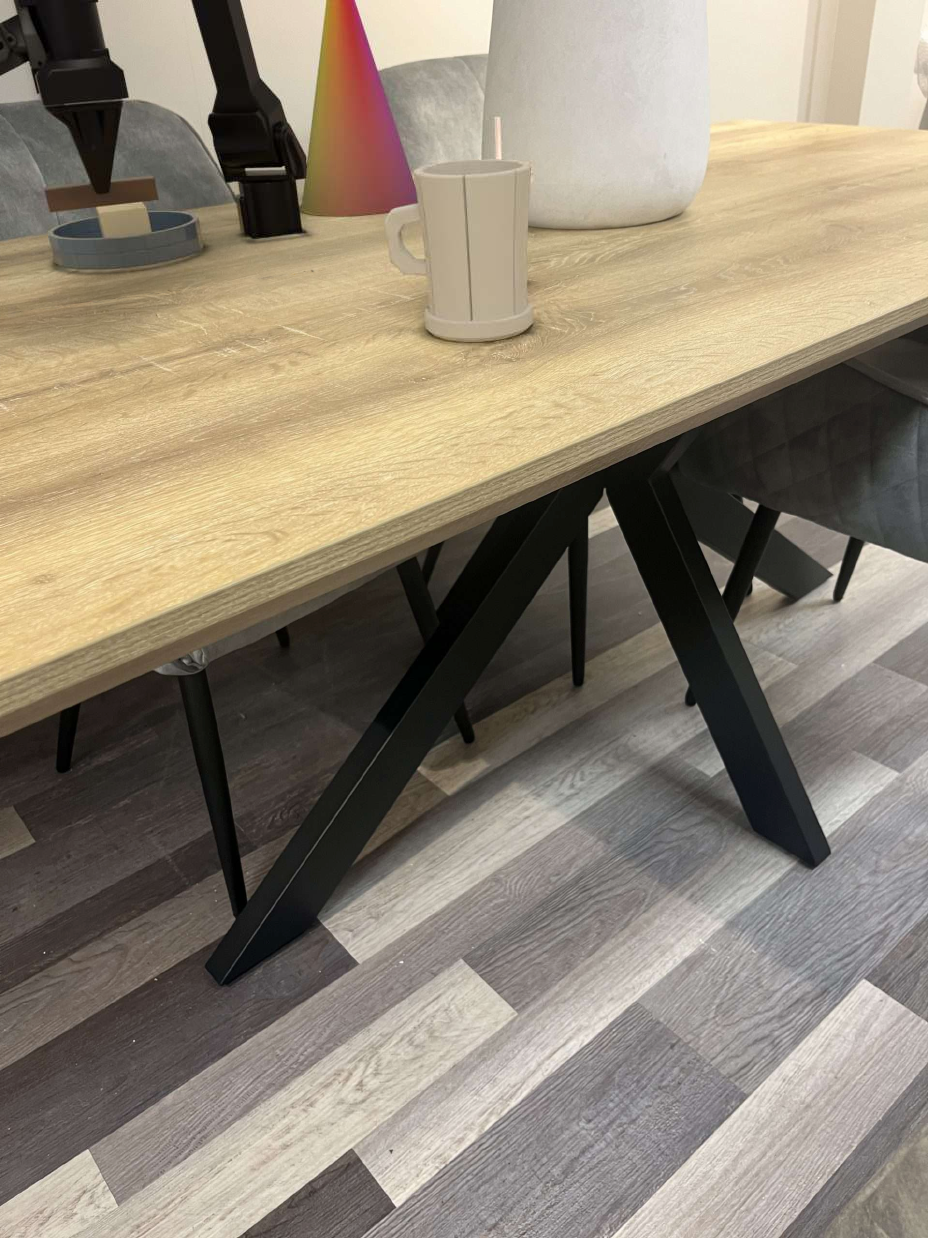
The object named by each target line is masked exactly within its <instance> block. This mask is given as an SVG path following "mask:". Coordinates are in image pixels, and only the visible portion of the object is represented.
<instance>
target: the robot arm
mask: <svg viewBox="0 0 928 1238" xmlns="http://www.w3.org/2000/svg"><path fill="white" fill-rule="evenodd" d="M190 1H191V5H192V8H193V13H194V15H195V19H196V23H197V26H198V30H199V32H200V36H201V39H202V43H203V47H204V50H205V54H206V57H207V61H208V65H209V67H210V71H211V74H212V78H213V83H214V86H215V89H216V93H215V98H214V100H213V101H214V102H213V106H212V110H211V112H210V113H209V114H208V116H207V126H208V128H209V131H210V133H211V136H212V144H213V149H214V152H215V154H216V158H217V161H218V165H219V167H220V170H221V173H222V177H223V180H224V182H225V184H231V183H237V184H238V191H239V193H237V194H236V195H235V197H234V198H235V204H236V209H237V216H238V221H239V228H240V231H241V232H242V233H243V234H244V235H246V236H248V237H249V238H250V239H251V240H258V239H267V238H275V237H283V236H290V235H291V236H292V235H299V234H307V230H306V229H305V228H303V225H302V216H301V210H300V203H299V202H300V201H299V194H298V187H297V181H298V180H305V178H306V175H307V158H308V157H307V155H306V153H305V151H304V148H303V147H302V144H301V143H300V141H299V139H298V137H297V136H296V134H295V132H294V130H293V128H292V126H291V124H290V123H289V122H288V119H287V117H286V113H285V111H284V108H283V104H282V101H281V100H280V98H279V97H278V96H277V95H276V93H274V91H273V90H272V89H271V88H270V87H269V86H268V85H267V84H266V83H265V81H263V79H262V78H261V76H260V72H259V69H258V65H257V64H258V63H257V61H256V58H255V54H254V49H253V45H252V40H251V37H250V32H249V30H248V25H247V22H246V18H245V14H244V9H243V6H242V2H241V0H190ZM13 3H14V7H15V11H16V14H15V15H13V16H11V17H9V18H7V19H5V20H3V21H1V22H0V77H1V76H3V75H5V74H7V73H9V72H11V71H13V70H15V69H17V68H18V67H20V66H22V65H24V64H26V63H28V64H29V67H30V68H29V69H30V72H31V76H32V80H33V85H34V88H35V93H36V94H37V95H39V97H40V103H41V105H42V107H43V108H44V110H45V111H46V112H47V113H49V115H51V116H53V117H54V118H55V119H57V120H58V121H59V122H60V123H62V124H63V125H64V126H66V128H67V130H68V133H69V135H70V138H71V140H72V142H73V145H74V147H75V150H76V152H77V154H78V156H79V159H80V161H81V163H82V166H83V168H84V171H85V173H86V175H87V177H88V180H89V182H91V183H92V186H93V188H94V190H95V192H96V193H97V194H104V193H108V192H109V190H110V183H111V180H112V175H113V170H114V169H113V168H114V161H115V155H116V148H117V141H118V135H119V131H120V130H119V129H120V122H121V116H122V110H123V107H124V99H129V98H130V96H129V91H128V86H127V80H126V75H125V70H124V69H123V68H122V67H120V66H119V65H118V64H116V62H114V61H113V60H112V59H111V54H110V50H109V48H108V47H106V42H105V37H104V32H103V28H102V23H101V18H100V14H99V9H98V3H99V0H13ZM274 168H277V169H274ZM278 168H280V169H278ZM281 168H284V169H281ZM246 169H248V170H246ZM249 169H253V170H249ZM254 169H255V170H254Z"/></svg>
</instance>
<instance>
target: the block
mask: <svg viewBox="0 0 928 1238" xmlns="http://www.w3.org/2000/svg"><path fill="white" fill-rule="evenodd" d="M95 211H96V214H97V216H98V219H99V224H100V228H101V232H102V237H103V238H110V237H122V236H131V235H139V234H146V233H151V227H150V222H149V217H148V212H147V211H148V209H147V206H146V205H145V204H144V202H136V203H127V204H119V205H110V206H101V207H95Z"/></svg>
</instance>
